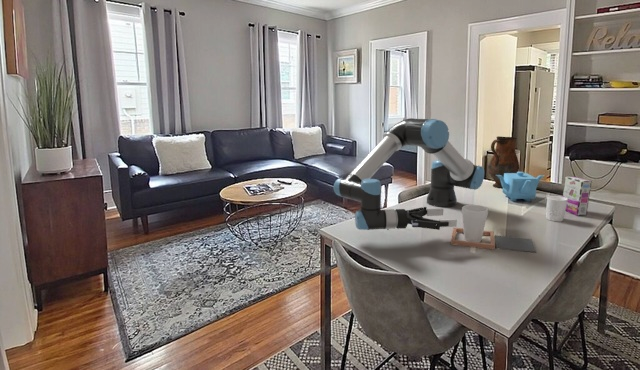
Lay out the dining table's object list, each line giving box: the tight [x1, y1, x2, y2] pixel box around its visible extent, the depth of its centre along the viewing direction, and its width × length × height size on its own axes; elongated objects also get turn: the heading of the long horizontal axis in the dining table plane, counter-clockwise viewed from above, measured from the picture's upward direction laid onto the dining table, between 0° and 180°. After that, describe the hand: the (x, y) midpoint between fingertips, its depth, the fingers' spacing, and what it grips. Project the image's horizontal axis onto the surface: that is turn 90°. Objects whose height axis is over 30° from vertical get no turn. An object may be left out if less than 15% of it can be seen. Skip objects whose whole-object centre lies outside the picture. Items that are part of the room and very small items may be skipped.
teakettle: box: [496, 171, 546, 202], centre depth 205 cm, size 19×19×15 cm
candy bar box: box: [562, 175, 592, 217], centre depth 180 cm, size 11×5×16 cm, turn 5°
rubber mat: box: [494, 234, 537, 254], centre depth 147 cm, size 13×13×1 cm
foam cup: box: [461, 204, 489, 243], centre depth 151 cm, size 10×9×13 cm
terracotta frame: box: [450, 227, 496, 250], centre depth 153 cm, size 15×15×2 cm
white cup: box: [545, 195, 568, 222], centre depth 172 cm, size 8×8×10 cm
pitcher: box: [487, 136, 520, 189], centre depth 229 cm, size 17×21×30 cm
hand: (449, 217), depth 150 cm, fingers open, 13 cm apart
